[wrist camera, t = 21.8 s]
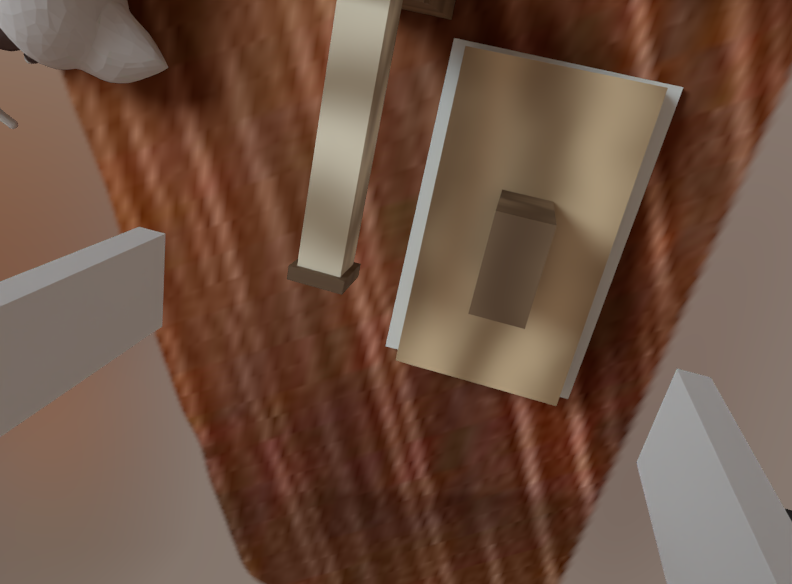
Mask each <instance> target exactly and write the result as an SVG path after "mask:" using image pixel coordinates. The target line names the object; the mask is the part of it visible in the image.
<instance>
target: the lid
mask: <svg viewBox="0 0 792 584" xmlns="http://www.w3.org/2000/svg"><path fill="white" fill-rule="evenodd" d="M667 89H668V88H666V87H662V86H657V85H652V84H647V83H642V82H637V81H633V80H628V79H623V78H618V77H613V76H609V75H604V74H599V73H594V72H589V71H584V70H580V69H575V68H570V67H565V66H560V65H555V64H551V63H546V62H541V61H536V60H531V59H526V58H522V57H517V56H512V55H507V54H502V53H498V52H493V51H488V50H483V49H478V48H473V47H469V46H465V50H464V54H463V59H462V63H461V68H460V72H459V77H458V81H457V86H456V90H455V95H454V99H453V104H452V108H451V113H450V117H449V122H448V126H447V131H446V135H445V140H444V144H443V149H442V153H441V158H440V162H439V167H438V171H437V176H436V180H435V185H434V190H433V194H432V199H431V203H430V208H429V212H428V217H427V221H426V226H425V230H424V235H423V239H422V244H421V248H420V253H419V257H418V262H417V266H416V271H415V275H414V280H413V284H412V289H411V293H410V298H409V302H408V307H407V311H406V316H405V320H404V325H403V329H402V334H401V338H400V343H399V347H398V352H397V356H396V361H400V362H404V363H407V364H411V365H414V366H418V367H421V368H425V369H428V370H432V371H435V372H439V373H442V374H446V375H449V376H453V377H456V378H460V379H463V380H467V381H470V382H474V383H477V384H481V385H484V386H488V387H491V388H495V389H498V390H502V391H505V392H509V393H512V394H516V395H519V396H523V397H526V398H530V399H533V400H537V401H540V402H544V403H547V404H551V405H554V406H557V403H558V400H559V397H560V394H561V391H562V389H563V386H564V383H565V380H566V377H567V374H568V371H569V369H570V366H571V363H572V360H573V357H574V354H575V351H576V349H577V346H578V343H579V340H580V337H581V334H582V332H583V329H584V326H585V323H586V320H587V317H588V314H589V312H590V309H591V306H592V303H593V300H594V297H595V294H596V292H597V289H598V286H599V283H600V280H601V277H602V275H603V272H604V269H605V266H606V263H607V260H608V257H609V255H610V252H611V249H612V246H613V243H614V240H615V237H616V235H617V232H618V229H619V226H620V223H621V220H622V217H623V215H624V212H625V209H626V206H627V203H628V200H629V198H630V195H631V192H632V189H633V186H634V183H635V180H636V178H637V175H638V172H639V169H640V166H641V163H642V160H643V158H644V155H645V152H646V149H647V146H648V143H649V141H650V138H651V135H652V132H653V129H654V126H655V123H656V121H657V118H658V115H659V112H660V109H661V106H662V103H663V101H664V98H665V95H666V92H667Z"/></svg>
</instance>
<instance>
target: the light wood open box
mask: <svg viewBox="0 0 792 584" xmlns="http://www.w3.org/2000/svg"><path fill="white" fill-rule="evenodd" d="M455 1H456V0H403V3H402V8H401V9H403V10H408V11H412V12H417V13H422V14H426V15H431V16H436V17H441V18H445V19H450V20H452V15H453V10H454V6H455Z"/></svg>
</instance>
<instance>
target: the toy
mask: <svg viewBox="0 0 792 584" xmlns="http://www.w3.org/2000/svg"><path fill="white" fill-rule="evenodd" d="M0 49H2V50H7V51H17V50H21V51H22V52H23V53H24V56H25V61H26V62H27V63H29V64H34V63H40V64H43V65H45V66H48V67H51V68H54V69H61V70H69V69H80V70H83V71H85V72H87V73H89V74H91V75H93V76H95V77H97V78H99V79H101V80H104V81H107V82H110V83H131V82H135V81H139V80H142V79H145V78H147V77H150V76H153V75H155V74H158V73H160V72H162V71H164V70H165V69H167V68H168V66H167V63H166V61H165V59H164V57H163V56H162V54H161V52H160V50H159V48H158V46H157V45H156V43H155V42H154V40H153V39H152V37H151V36H150V34H149V33H148V32H147V31H146V30H145V29H144V28H143V27H142V25H141V24H140V23H139V22H138V21H137V20H136V19H135V18H134V16H133V15H132V14H131V13H130V11H129V6H128V1H127V0H0ZM0 121H1V122H3V123H4V124H5V125H7V126H8V127H9V128H12V129H15V128H17V127H18V123H17V121H15V120H14V119H13V118H12V117H10V116H9V115H8V114H6V113H5V112H4V111H3V110H1V109H0Z"/></svg>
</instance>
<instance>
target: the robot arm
mask: <svg viewBox="0 0 792 584" xmlns="http://www.w3.org/2000/svg"><path fill="white" fill-rule="evenodd" d="M164 257H165V234H164V233H160V232H157V231H153V230H149V229H145V228H141V227H137V228H135V229H132V230H130V231H127V232H125V233H122V234H120V235H117V236H115V237H112V238H110V239H107V240H105V241H102V242H100V243H97V244H95V245H92V246H89V247H87V248H84V249H82V250H79V251H77V252H74V253H72V254H69V255H66V256H64V257H62V258H59V259H56V260H54V261H51V262H49V263H46V264H44V265H41V266H39V267H36V268H33V269H31V270H28V271H26V272H23V273H21V274H18V275H16V276H13V277H11V278H8V279H6V280H3V281H0V437H1V436H2V435H4V434H5V433H7V432H8V431H10V430H11V429H13V428H14V427H16V426H17V425H18V424H20V423H22V422H23V421H24V420H26V419H27V418H29V417H30V416H32V415H33V414H35V413H36V412H37V411H39V410H40V409H42V408H43V407H45V406H46V405H48V404H49V403H51V402H52V401H54V400H55V399H56V398H58V397H59V396H61V395H62V394H64V393H65V392H67V391H68V390H70V389H71V388H73V387H74V386H76V385H77V384H79V383H80V382H81V381H83V380H84V379H86V378H87V377H89V376H90V375H92V374H93V373H95V372H96V371H98V370H99V369H101V368H102V367H103V366H105V365H106V364H108V363H109V362H111V361H112V360H114V359H115V358H117V357H118V356H119V355H121V354H123V353H124V352H125V351H127V350H128V349H130V348H131V347H133V346H134V345H136V344H137V343H139V342H140V341H141V340H143V339H144V338H146V337H147V336H149V335H150V334H152V333H153V332H155V331H156V330H158V329H159V328H161V327H162V315H163V286H164ZM637 466H638V470H639V475H640V478H641V482H642V487H643V491H644V495H645V498H646V502H647V507H648V511H649V515H650V519H651V521H652V526H653V531H654V534H655V538H656V542H657V546H658V550H659V554H660V558H661V562H662V566H663V570H664V574H665V578H666V582H667V584H792V511H791V510H788V509H784V507H783V505H782V503H781V501H780V500H779V498H778V496H777V494H776V493H775V491H774V489H773V487H772V485H771V484H770V482H769V480H768V478H767V477H766V475H765V473H764V471H763V469H762V468H761V466H760V464H759V462H758V461H757V459H756V457H755V455H754V453H753V452H752V450H751V448H750V447H749V445H748V443H747V441H746V439H745V437H744V436H743V434H742V432H741V430H740V428H739V427H738V425H737V423H736V421H735V420H734V418H733V416H732V414H731V412H730V411H729V409H728V407H727V406H726V404H725V402H724V400H723V398H722V397H721V395H720V393H719V391H718V389H717V388H716V386H715V384H714V382H713V380H712V379H711V377H707V376H703V375H699V374H696V373H692V372H688V371H684V370H681V369H676V372H675V374H674V376H673V379H672V381H671V383H670V386H669V388H668V390H667V393H666V395H665V397H664V400H663V402H662V404H661V407H660V409H659V411H658V414H657V416H656V418H655V421H654V423H653V425H652V428H651V430H650V432H649V435H648V437H647V439H646V442H645V444H644V447H643V449H642V451H641V453H640V456H639V458H638V460H637Z"/></svg>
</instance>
